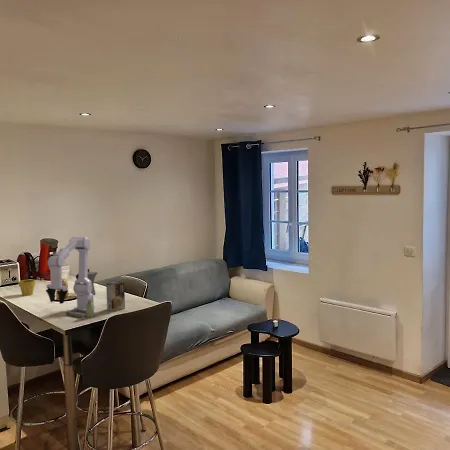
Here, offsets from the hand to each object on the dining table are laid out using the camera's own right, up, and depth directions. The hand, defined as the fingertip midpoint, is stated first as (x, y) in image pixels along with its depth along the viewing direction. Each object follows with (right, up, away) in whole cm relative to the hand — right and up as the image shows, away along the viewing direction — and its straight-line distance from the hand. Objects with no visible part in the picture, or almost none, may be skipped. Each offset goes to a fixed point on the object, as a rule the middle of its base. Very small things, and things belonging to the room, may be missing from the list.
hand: (57, 302), depth 239 cm
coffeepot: (-3, -6, +62) cm, 63 cm away
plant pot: (-45, -6, +63) cm, 78 cm away
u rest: (+8, -9, +12) cm, 17 cm away
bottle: (+16, -10, +8) cm, 20 cm away
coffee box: (+26, -9, +25) cm, 37 cm away
